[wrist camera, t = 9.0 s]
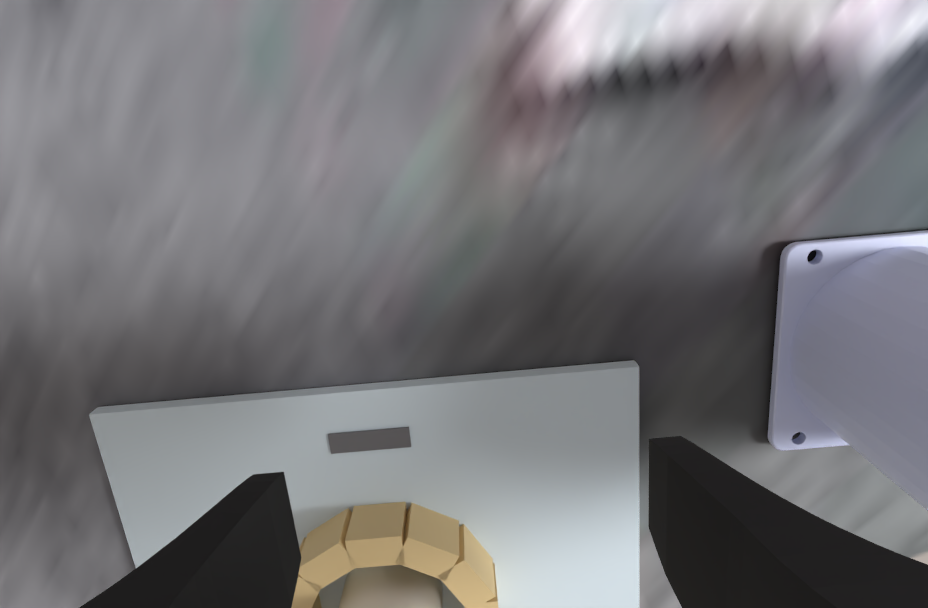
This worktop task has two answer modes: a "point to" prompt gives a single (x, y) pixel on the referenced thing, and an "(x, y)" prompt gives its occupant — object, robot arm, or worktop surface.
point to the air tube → (390, 588)
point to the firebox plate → (410, 479)
